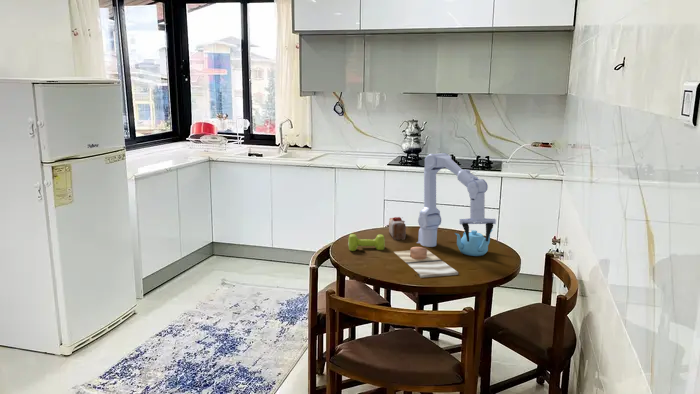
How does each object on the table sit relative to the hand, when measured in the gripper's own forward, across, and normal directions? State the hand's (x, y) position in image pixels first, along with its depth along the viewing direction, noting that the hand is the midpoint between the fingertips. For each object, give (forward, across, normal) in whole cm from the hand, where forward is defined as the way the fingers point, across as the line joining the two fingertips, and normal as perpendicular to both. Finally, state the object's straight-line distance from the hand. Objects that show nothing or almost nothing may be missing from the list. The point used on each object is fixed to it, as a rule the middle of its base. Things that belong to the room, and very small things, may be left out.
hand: (477, 241), depth 216 cm
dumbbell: (+7, -48, +12) cm, 50 cm away
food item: (+6, -34, +38) cm, 52 cm away
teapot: (+9, 0, +16) cm, 18 cm away
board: (+9, -23, -2) cm, 24 cm away
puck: (+7, -25, +3) cm, 26 cm away
